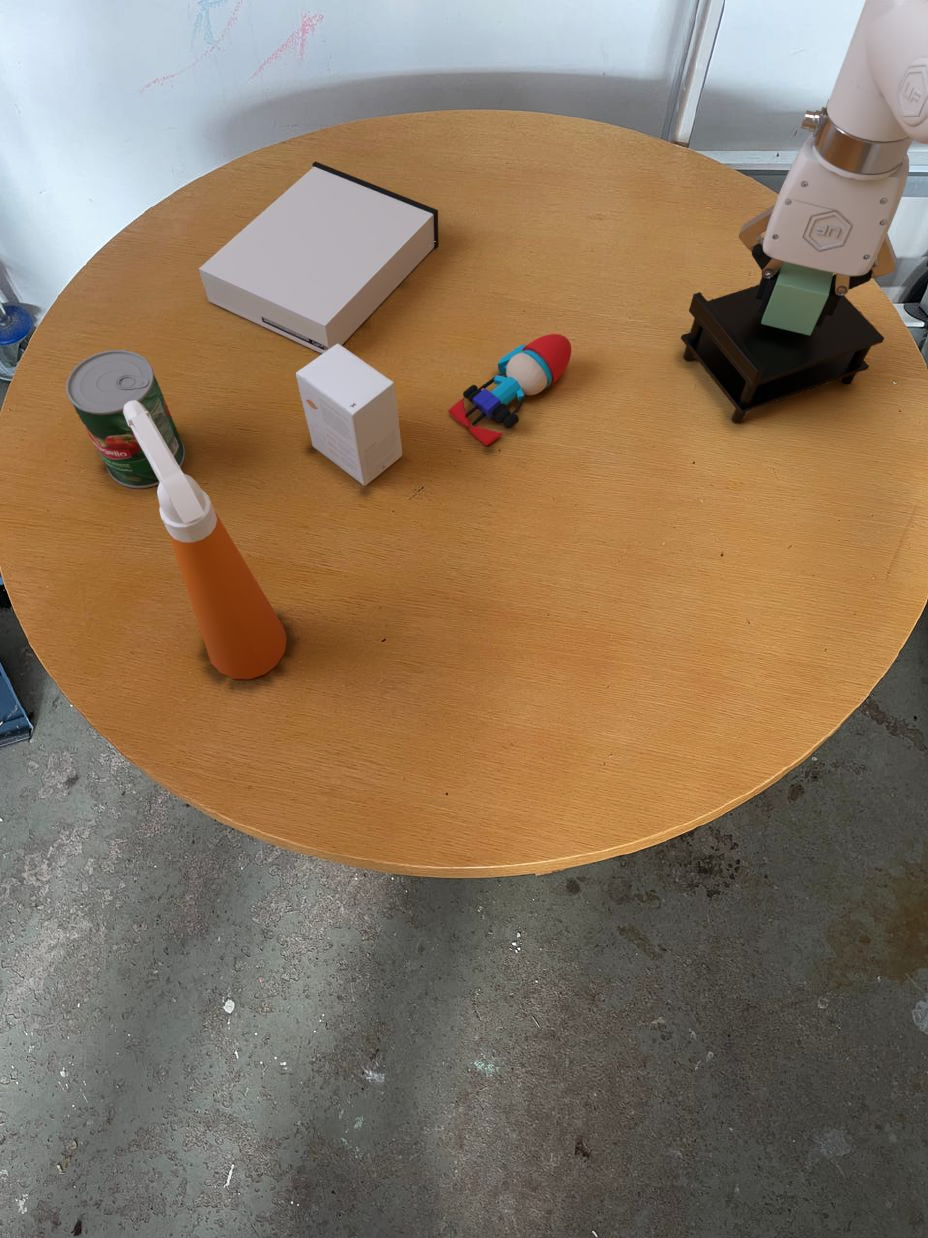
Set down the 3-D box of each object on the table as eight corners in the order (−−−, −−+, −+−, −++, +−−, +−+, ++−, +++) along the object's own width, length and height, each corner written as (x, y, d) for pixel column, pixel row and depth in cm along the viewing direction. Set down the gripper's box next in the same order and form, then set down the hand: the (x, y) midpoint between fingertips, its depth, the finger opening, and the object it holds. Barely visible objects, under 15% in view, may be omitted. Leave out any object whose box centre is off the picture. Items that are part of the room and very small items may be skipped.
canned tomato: (98, 487, 87) (54, 410, 77) (117, 427, 91) (77, 347, 81) (177, 490, 87) (142, 413, 77) (192, 430, 91) (161, 350, 81)
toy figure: (493, 460, 91) (592, 372, 94) (486, 430, 86) (590, 339, 89) (445, 423, 94) (542, 339, 97) (436, 393, 90) (538, 306, 93)
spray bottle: (248, 570, 82) (167, 362, 59) (301, 656, 78) (235, 467, 55) (179, 605, 80) (67, 404, 57) (228, 695, 76) (129, 515, 53)
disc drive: (439, 245, 105) (438, 208, 101) (332, 359, 96) (326, 324, 91) (321, 198, 110) (315, 160, 105) (207, 302, 100) (196, 266, 96)
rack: (795, 314, 100) (821, 253, 93) (859, 384, 94) (891, 325, 87) (675, 353, 97) (693, 293, 89) (734, 429, 91) (757, 371, 84)
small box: (403, 457, 89) (397, 382, 80) (364, 488, 87) (353, 415, 78) (350, 416, 92) (338, 340, 83) (310, 446, 90) (293, 371, 81)
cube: (817, 303, 90) (835, 262, 85) (810, 335, 87) (828, 295, 83) (769, 292, 90) (784, 251, 86) (760, 324, 88) (776, 283, 84)
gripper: (754, 141, 72) (701, 315, 88) (965, 185, 70) (871, 355, 85) (769, 93, 76) (715, 268, 92) (971, 132, 73) (879, 306, 89)
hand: (791, 309), depth 88 cm, fingers closed on cube, 5 cm apart
